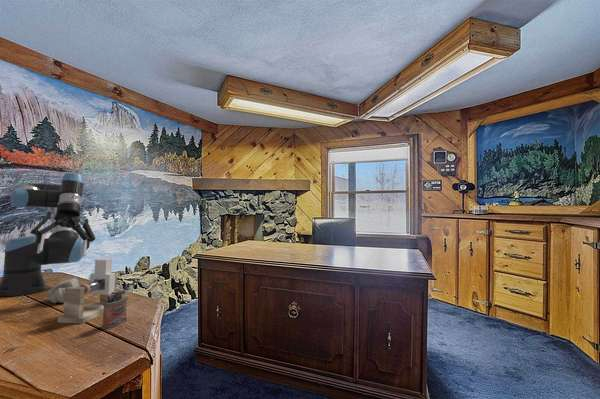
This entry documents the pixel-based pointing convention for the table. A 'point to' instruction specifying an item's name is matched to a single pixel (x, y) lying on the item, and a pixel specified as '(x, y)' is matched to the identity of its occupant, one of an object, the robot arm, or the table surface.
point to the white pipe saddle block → (103, 276)
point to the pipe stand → (75, 303)
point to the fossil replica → (61, 290)
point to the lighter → (114, 310)
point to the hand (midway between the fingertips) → (62, 254)
